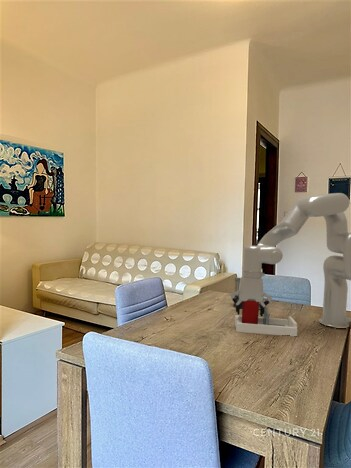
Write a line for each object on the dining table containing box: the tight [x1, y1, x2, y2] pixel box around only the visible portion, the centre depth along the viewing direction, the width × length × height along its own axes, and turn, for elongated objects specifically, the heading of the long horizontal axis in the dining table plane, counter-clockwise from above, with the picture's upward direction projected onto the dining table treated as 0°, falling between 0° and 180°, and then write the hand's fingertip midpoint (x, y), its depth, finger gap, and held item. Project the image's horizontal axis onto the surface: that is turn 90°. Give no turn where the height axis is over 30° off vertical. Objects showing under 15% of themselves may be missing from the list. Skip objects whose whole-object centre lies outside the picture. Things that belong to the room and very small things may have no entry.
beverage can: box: [241, 299, 260, 324], centre depth 138 cm, size 7×7×12 cm
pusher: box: [263, 307, 285, 326], centre depth 136 cm, size 8×9×7 cm
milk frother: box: [233, 277, 261, 309], centre depth 171 cm, size 14×16×15 cm
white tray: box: [234, 314, 298, 337], centre depth 137 cm, size 24×12×5 cm, turn 83°
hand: (249, 314), depth 138 cm, fingers open, 9 cm apart
